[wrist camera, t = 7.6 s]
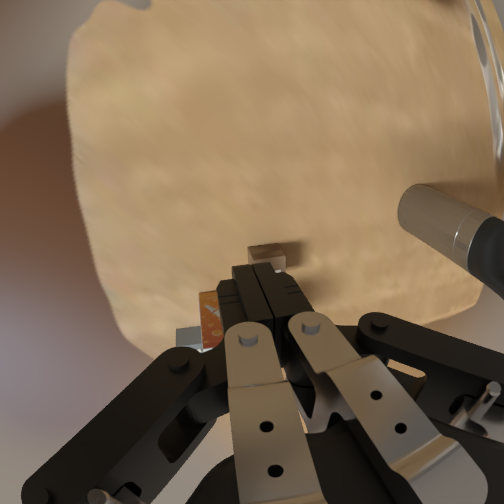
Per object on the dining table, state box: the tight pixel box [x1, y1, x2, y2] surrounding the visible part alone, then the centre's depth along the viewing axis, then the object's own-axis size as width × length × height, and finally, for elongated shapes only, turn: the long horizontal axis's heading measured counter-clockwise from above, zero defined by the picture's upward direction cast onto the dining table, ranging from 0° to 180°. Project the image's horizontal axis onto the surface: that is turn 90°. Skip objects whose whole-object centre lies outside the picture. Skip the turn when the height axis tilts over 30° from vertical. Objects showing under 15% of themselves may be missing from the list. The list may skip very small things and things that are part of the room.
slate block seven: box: [176, 326, 203, 353], centre depth 46 cm, size 4×4×5 cm
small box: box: [198, 291, 224, 352], centre depth 41 cm, size 8×6×13 cm
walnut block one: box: [248, 243, 286, 273], centre depth 43 cm, size 4×4×5 cm
